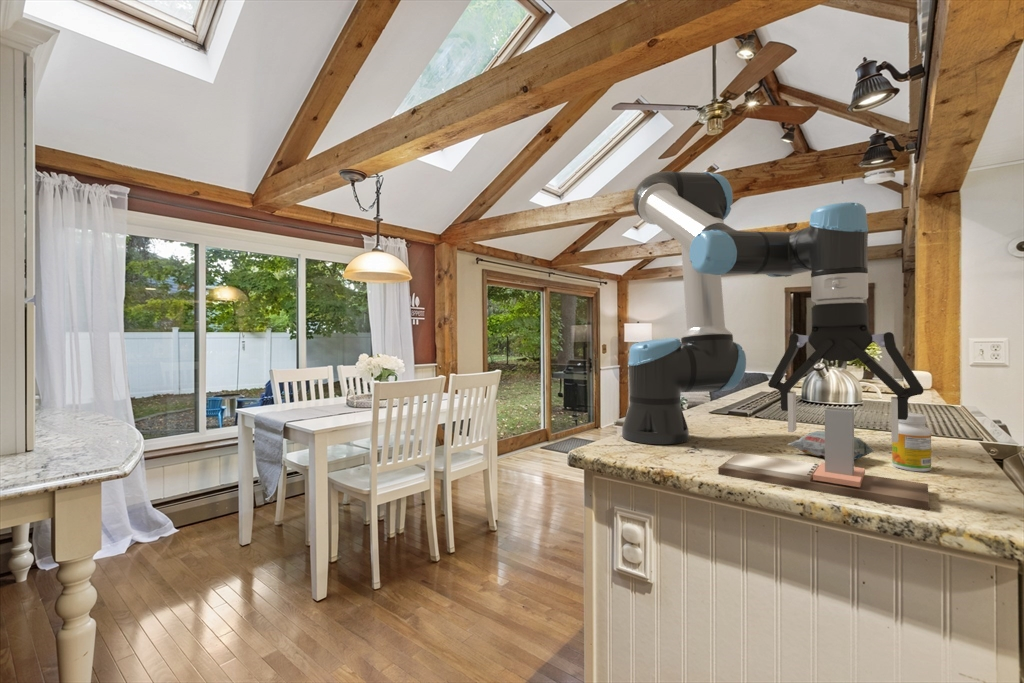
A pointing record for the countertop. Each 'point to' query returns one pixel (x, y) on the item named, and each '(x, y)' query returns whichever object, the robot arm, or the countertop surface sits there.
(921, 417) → the supplement bottle
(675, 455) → the countertop surface
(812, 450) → the packaged food
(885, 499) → the board
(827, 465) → the grey upright slab piece
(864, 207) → the robot arm
